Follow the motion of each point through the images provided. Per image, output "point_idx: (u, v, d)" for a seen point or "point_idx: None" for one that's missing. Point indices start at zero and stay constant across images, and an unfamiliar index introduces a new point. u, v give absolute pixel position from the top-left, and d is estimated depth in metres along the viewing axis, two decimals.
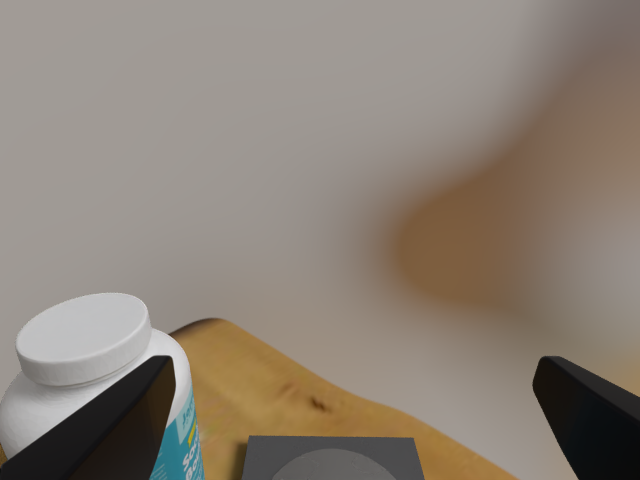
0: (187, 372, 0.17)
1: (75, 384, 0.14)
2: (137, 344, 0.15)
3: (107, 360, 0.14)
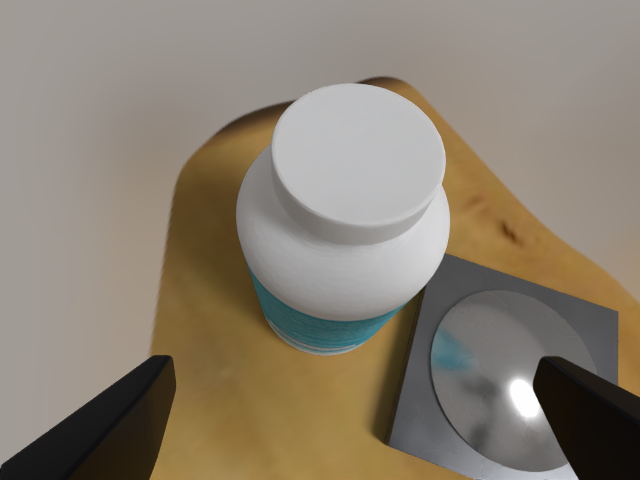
0: (449, 224, 0.13)
1: (351, 244, 0.10)
2: (429, 203, 0.10)
3: (398, 227, 0.09)
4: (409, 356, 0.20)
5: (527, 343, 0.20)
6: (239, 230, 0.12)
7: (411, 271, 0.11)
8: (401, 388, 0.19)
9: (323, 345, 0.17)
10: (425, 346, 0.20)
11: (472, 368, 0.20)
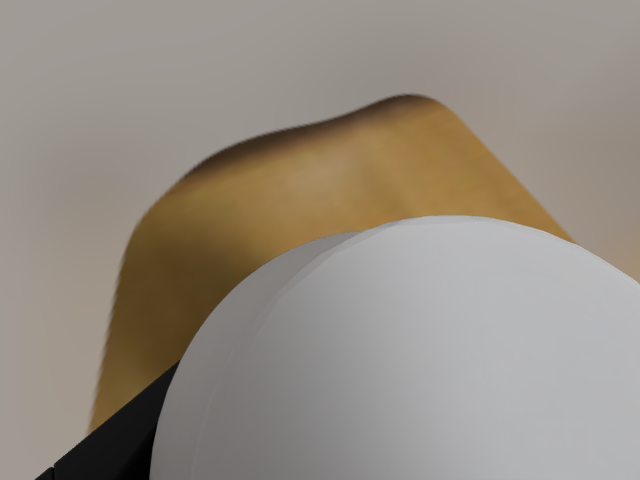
0: None
1: None
2: None
3: None
4: None
5: None
6: None
7: None
8: None
9: None
10: None
11: None
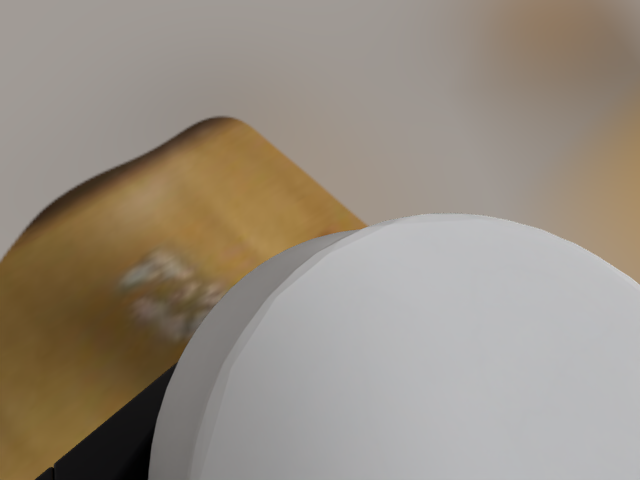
0: None
1: None
2: None
3: None
4: None
5: None
6: None
7: None
8: None
9: None
10: None
11: None
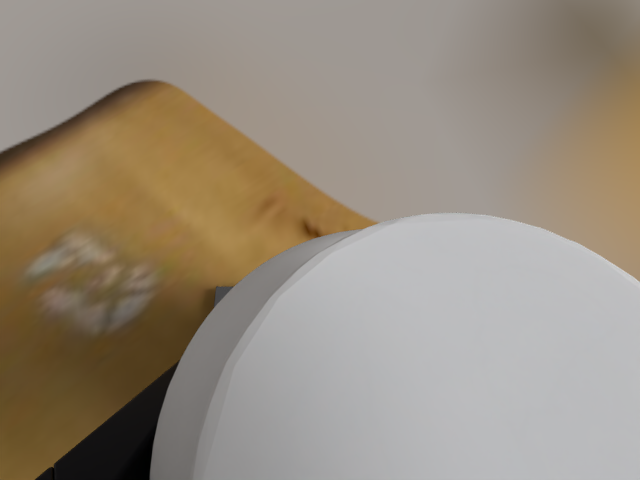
0: None
1: None
2: None
3: None
4: None
5: None
6: None
7: None
8: None
9: None
10: None
11: None
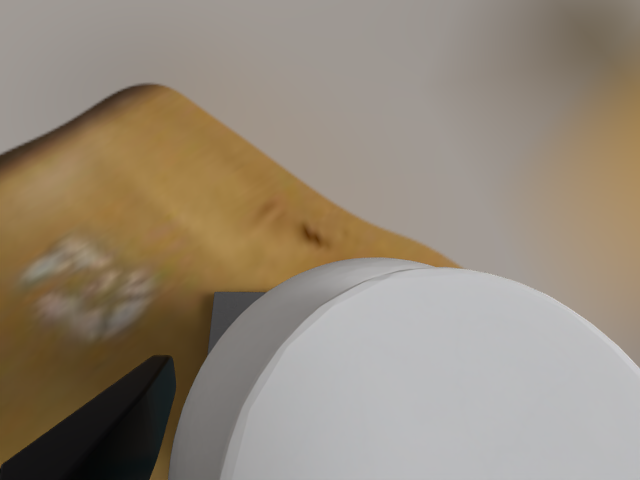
0: None
1: None
2: None
3: None
4: None
5: None
6: None
7: None
8: None
9: None
10: None
11: None
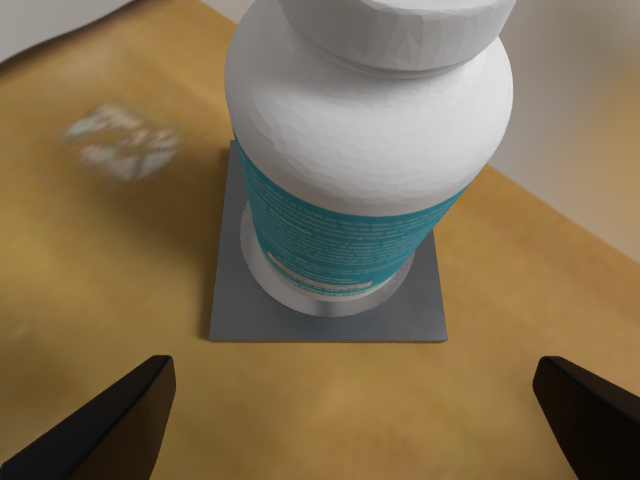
0: None
1: (391, 69, 0.07)
2: (509, 12, 0.07)
3: (467, 33, 0.06)
4: (219, 248, 0.19)
5: None
6: (228, 90, 0.09)
7: (469, 137, 0.08)
8: (215, 281, 0.18)
9: (334, 278, 0.14)
10: (234, 233, 0.19)
11: None
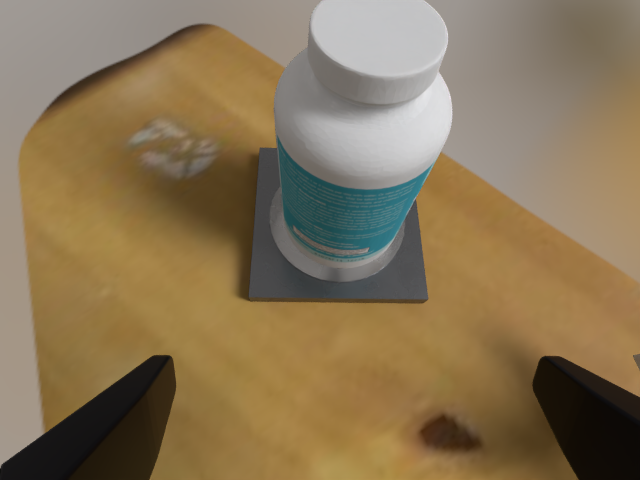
0: None
1: (371, 103, 0.12)
2: (434, 73, 0.12)
3: (409, 86, 0.12)
4: (254, 230, 0.24)
5: None
6: (277, 113, 0.15)
7: (419, 140, 0.14)
8: (252, 255, 0.24)
9: (340, 243, 0.19)
10: (265, 219, 0.24)
11: None
